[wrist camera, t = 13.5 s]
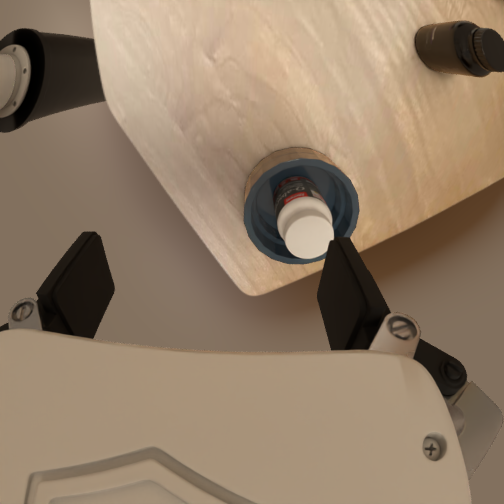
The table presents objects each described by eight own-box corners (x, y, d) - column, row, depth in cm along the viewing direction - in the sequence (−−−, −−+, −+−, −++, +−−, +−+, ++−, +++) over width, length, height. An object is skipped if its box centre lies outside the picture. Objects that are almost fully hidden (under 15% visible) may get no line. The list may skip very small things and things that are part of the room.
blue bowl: (243, 236, 38) (242, 263, 33) (246, 143, 31) (245, 155, 26) (334, 240, 38) (346, 265, 33) (350, 151, 31) (368, 165, 26)
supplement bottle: (409, 21, 21) (468, 9, 11) (449, 30, 20) (509, 28, 10) (417, 70, 25) (479, 75, 15) (455, 75, 24) (517, 86, 14)
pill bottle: (292, 165, 32) (307, 197, 24) (327, 192, 34) (352, 232, 25) (263, 201, 34) (267, 244, 26) (298, 225, 36) (312, 272, 28)
